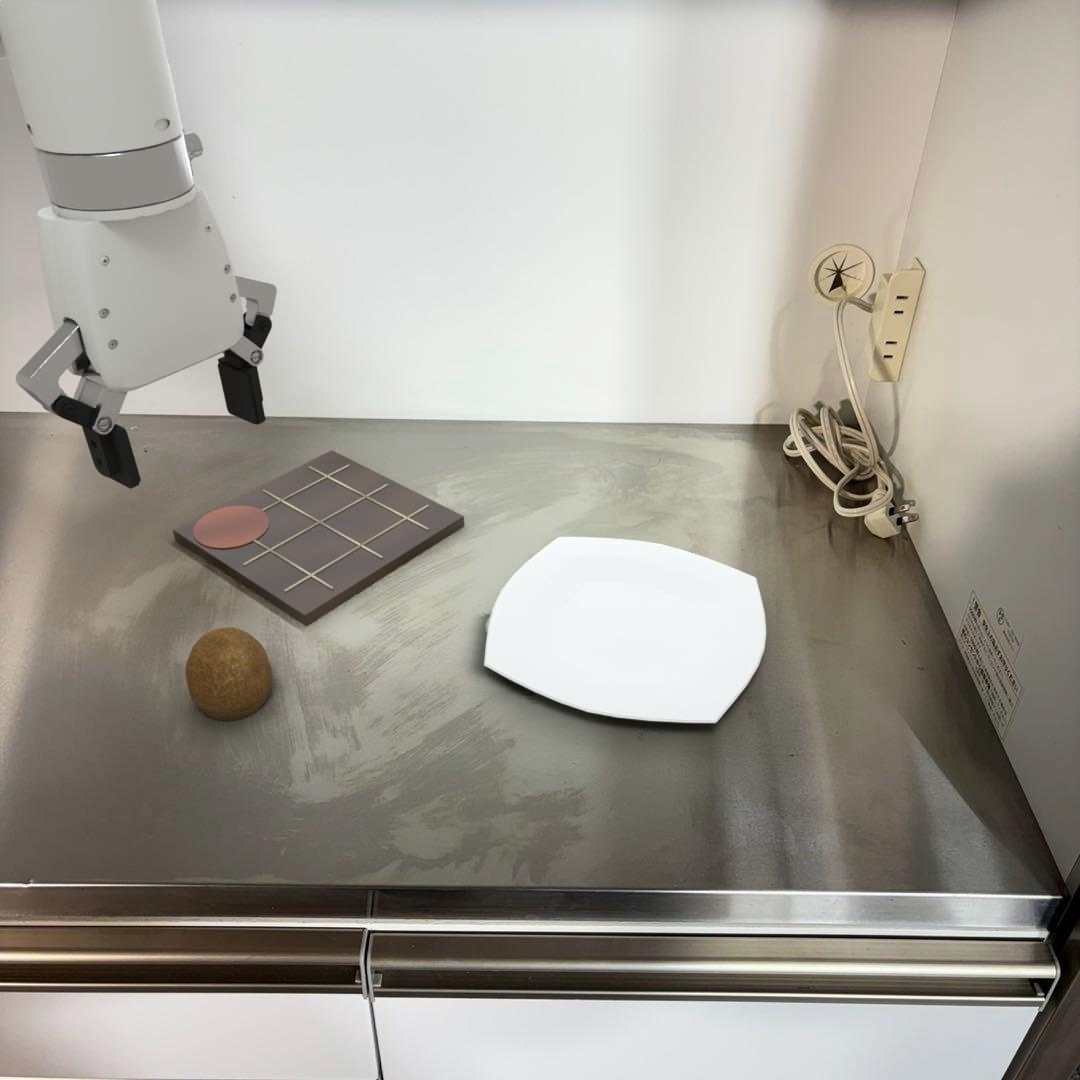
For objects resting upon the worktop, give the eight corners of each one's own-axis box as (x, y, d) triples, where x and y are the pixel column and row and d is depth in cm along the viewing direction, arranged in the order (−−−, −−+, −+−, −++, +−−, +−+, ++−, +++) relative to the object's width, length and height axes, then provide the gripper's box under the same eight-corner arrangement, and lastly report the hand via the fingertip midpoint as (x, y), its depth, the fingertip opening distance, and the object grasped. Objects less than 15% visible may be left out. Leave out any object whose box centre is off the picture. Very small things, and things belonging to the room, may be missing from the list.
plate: (543, 535, 95) (544, 519, 94) (781, 584, 89) (784, 567, 88) (449, 692, 78) (448, 674, 77) (736, 767, 72) (740, 749, 70)
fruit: (239, 674, 79) (221, 598, 75) (296, 703, 77) (280, 626, 72) (180, 721, 75) (156, 644, 70) (237, 753, 72) (217, 676, 68)
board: (174, 539, 95) (171, 528, 94) (333, 459, 107) (331, 448, 106) (306, 626, 84) (304, 614, 83) (464, 525, 97) (464, 514, 96)
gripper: (205, 132, 60) (254, 383, 70) (-77, 200, 49) (30, 488, 59) (287, 150, 56) (327, 412, 66) (3, 228, 45) (103, 529, 55)
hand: (187, 447), depth 62 cm, fingers open, 9 cm apart
